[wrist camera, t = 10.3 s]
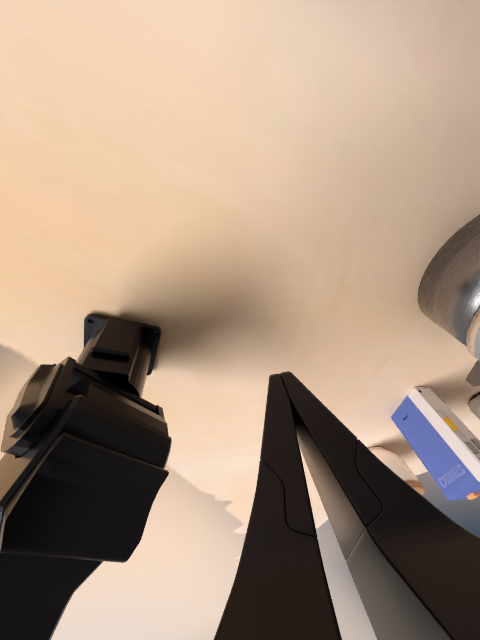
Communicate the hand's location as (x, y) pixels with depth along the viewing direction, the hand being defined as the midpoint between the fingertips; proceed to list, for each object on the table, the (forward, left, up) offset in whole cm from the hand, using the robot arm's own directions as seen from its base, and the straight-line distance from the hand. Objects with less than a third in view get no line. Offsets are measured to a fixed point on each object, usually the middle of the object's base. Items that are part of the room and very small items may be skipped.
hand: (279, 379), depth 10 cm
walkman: (-14, -34, -13) cm, 39 cm away
